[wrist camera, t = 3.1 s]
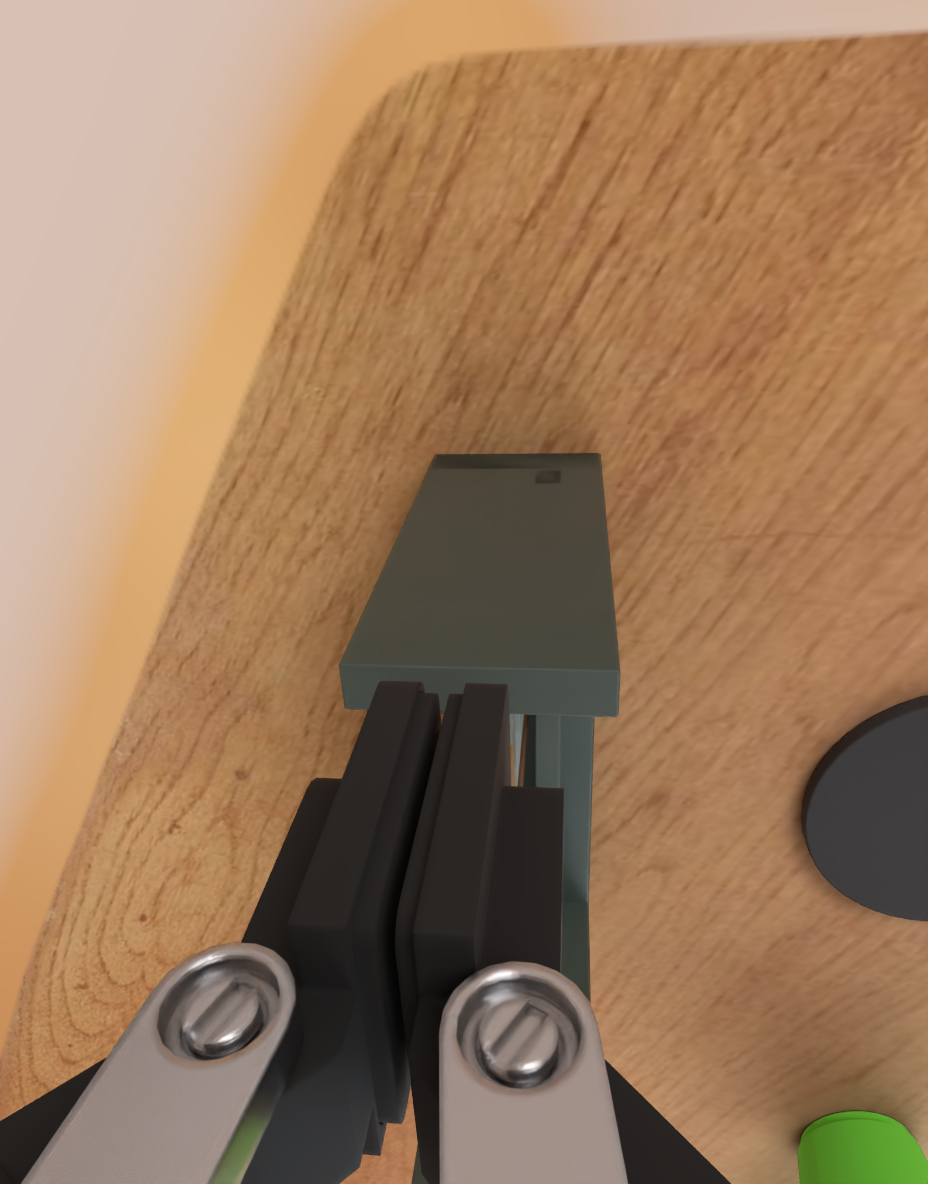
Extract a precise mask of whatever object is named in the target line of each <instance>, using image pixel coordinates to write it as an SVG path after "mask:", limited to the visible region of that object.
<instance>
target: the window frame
mask: <svg viewBox="0 0 928 1184" xmlns="http://www.w3.org/2000/svg"><path fill="white" fill-rule="evenodd" d="M339 669H340V677H341V684H342V692H343V699H344V706H345V709H359V710H368V709H369V706H370V704H371V701H372V699H373V696H374V693H375V691H376V688H377V686H378V684H379V682H380V681H413V682H422V683H423V685H424V689H425V693H437V694H438V696H439V703H440V712H444V713H445V708H446V704H447V700H448V696H449V694H463V692H464V688H465V684H466V683H487V684H508V688H509V714H526V715H529V717H528V730H527V742H526V755H525V767H524V780H523V787H543V788H564V841H563V907H562V960H561V974H562V975H564V976H565V977H566V978H568V979H569V980H571V981H572V982H573V983H575V984H576V985H577V986H578V988H579V989H580V990H581V991H582V993H583V994H584V995H585V997H586V998H587V999H588V1000H589V1002H590V1004H591V996H590V947H589V873H590V841H591V808H592V776H593V744H594V717H617V716H618V712H619V691H620V663H619V652H618V641H617V630H616V619H615V608H614V597H613V586H612V575H611V564H610V553H609V542H608V531H607V520H606V509H605V498H604V487H603V476H602V465H601V455H600V454H599V453H574V454H447V455H435V456H434V459H433V461H432V463H431V465H430V467H429V470H428V472H427V474H426V476H425V478H424V480H423V483H422V485H421V487H420V489H419V491H418V494H417V496H416V498H415V500H414V502H413V504H412V507H411V509H410V511H409V513H408V515H407V518H406V520H405V522H404V524H403V526H402V529H401V531H400V533H399V535H398V537H397V539H396V542H395V544H394V546H393V548H392V550H391V553H390V555H389V557H388V559H387V561H386V563H385V566H384V568H383V570H382V572H381V574H380V577H379V579H378V581H377V583H376V585H375V587H374V590H373V592H372V594H371V596H370V598H369V601H368V603H367V605H366V607H365V609H364V611H363V614H362V616H361V618H360V620H359V622H358V625H357V627H356V629H355V631H354V633H353V635H352V638H351V640H350V642H349V644H348V646H347V649H346V651H345V653H344V655H343V657H342V659H341V662H340V664H339ZM412 1184H429V1183H428V1182H427V1181H426V1179H425V1178H424V1176H423V1175H422V1173H421V1165H420V1156H419V1148H418V1146H417V1152H416V1158H415V1165H414V1171H413V1177H412Z"/></svg>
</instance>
